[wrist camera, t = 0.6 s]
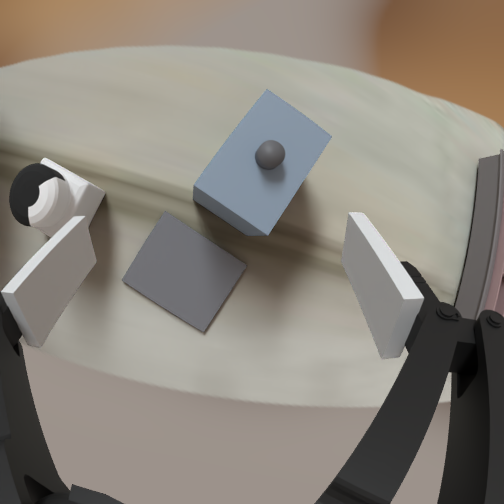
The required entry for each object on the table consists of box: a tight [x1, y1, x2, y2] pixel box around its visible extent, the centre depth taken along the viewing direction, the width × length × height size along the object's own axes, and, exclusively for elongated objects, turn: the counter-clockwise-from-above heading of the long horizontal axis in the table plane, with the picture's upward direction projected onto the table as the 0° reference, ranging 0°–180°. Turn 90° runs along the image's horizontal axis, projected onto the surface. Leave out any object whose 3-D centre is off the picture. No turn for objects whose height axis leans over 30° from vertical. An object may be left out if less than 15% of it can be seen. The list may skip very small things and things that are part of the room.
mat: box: [122, 211, 247, 332], centre depth 37 cm, size 12×10×1 cm
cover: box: [193, 89, 332, 236], centre depth 32 cm, size 8×12×13 cm, turn 146°
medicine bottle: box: [9, 158, 105, 238], centre depth 29 cm, size 7×7×12 cm
